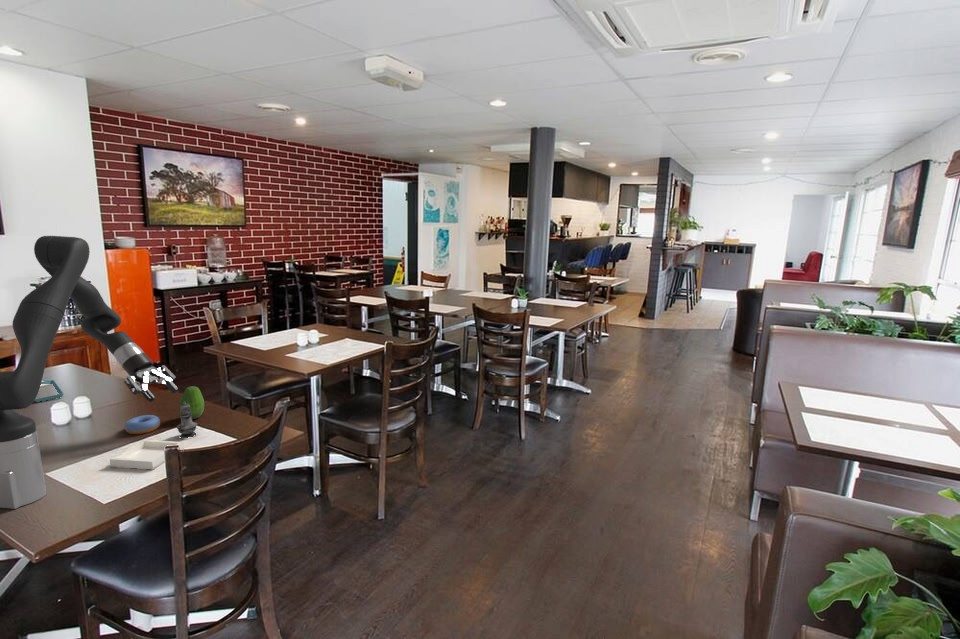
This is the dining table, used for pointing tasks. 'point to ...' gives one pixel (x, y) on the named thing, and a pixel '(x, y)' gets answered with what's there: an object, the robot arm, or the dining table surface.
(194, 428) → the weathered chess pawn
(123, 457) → the ceramic dish
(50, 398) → the shallow long dish
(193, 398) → the avocado
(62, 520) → the dining table surface
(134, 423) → the doughnut
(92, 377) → the dining table surface
